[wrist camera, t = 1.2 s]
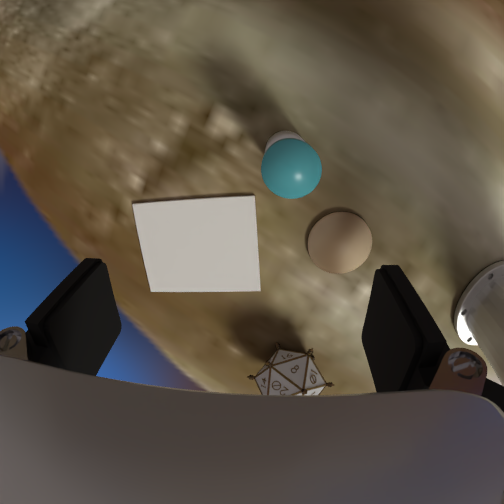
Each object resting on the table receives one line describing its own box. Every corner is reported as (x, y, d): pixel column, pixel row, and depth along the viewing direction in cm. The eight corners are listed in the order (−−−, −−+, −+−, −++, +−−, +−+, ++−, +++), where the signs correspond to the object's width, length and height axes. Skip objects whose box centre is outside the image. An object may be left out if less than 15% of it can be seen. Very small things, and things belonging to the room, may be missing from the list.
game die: (274, 343, 41) (221, 388, 35) (307, 313, 35) (248, 366, 29) (319, 391, 39) (272, 442, 33) (359, 370, 33) (310, 432, 26)
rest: (373, 211, 29) (374, 212, 29) (368, 270, 32) (369, 272, 31) (307, 212, 30) (308, 213, 29) (307, 272, 32) (307, 274, 32)
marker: (306, 129, 26) (321, 139, 18) (307, 170, 28) (321, 197, 20) (263, 130, 27) (259, 141, 19) (266, 171, 28) (263, 199, 20)
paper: (254, 195, 29) (254, 196, 29) (260, 289, 33) (260, 290, 33) (133, 203, 30) (132, 204, 30) (152, 290, 34) (151, 291, 34)
